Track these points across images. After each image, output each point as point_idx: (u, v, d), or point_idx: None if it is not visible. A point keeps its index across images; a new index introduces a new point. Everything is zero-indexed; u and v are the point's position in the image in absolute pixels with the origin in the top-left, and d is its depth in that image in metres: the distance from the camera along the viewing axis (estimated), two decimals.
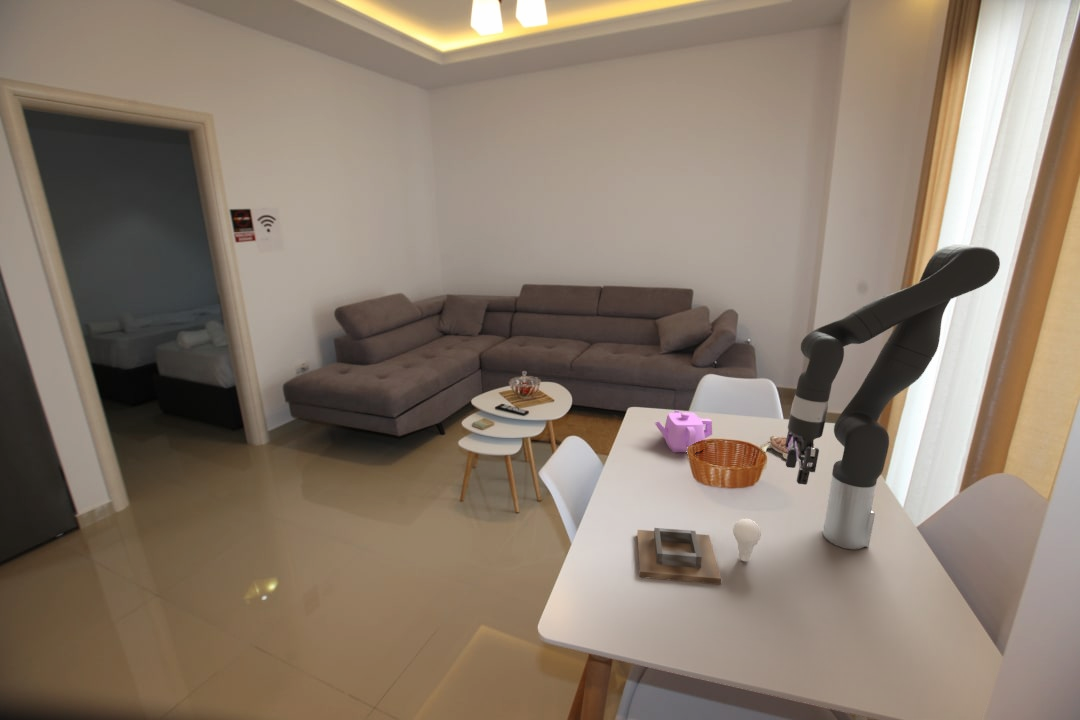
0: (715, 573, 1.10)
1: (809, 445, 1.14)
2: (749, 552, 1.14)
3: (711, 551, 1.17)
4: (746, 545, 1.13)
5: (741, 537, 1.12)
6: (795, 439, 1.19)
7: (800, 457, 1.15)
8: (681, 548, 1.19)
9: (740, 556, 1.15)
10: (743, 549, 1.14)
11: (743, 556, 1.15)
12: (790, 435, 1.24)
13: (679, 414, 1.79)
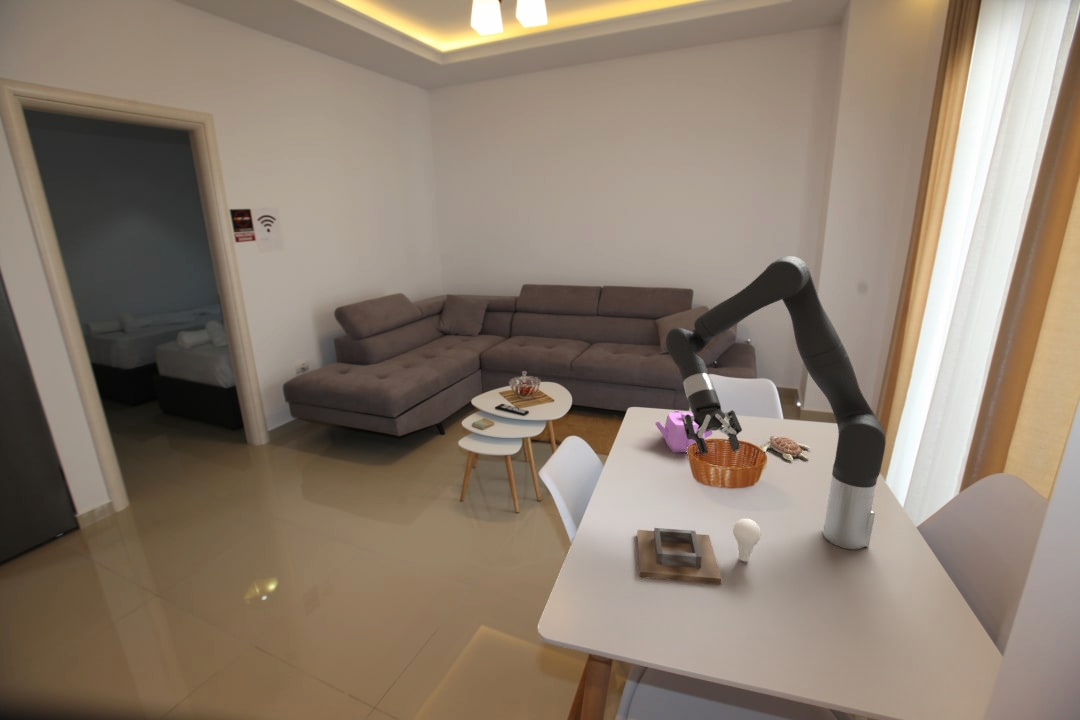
0: (715, 573, 1.10)
1: None
2: (749, 552, 1.14)
3: (711, 551, 1.17)
4: (746, 545, 1.13)
5: (741, 537, 1.12)
6: None
7: None
8: (681, 548, 1.19)
9: (740, 556, 1.15)
10: (743, 549, 1.14)
11: (743, 556, 1.15)
12: (729, 421, 1.27)
13: (679, 414, 1.79)
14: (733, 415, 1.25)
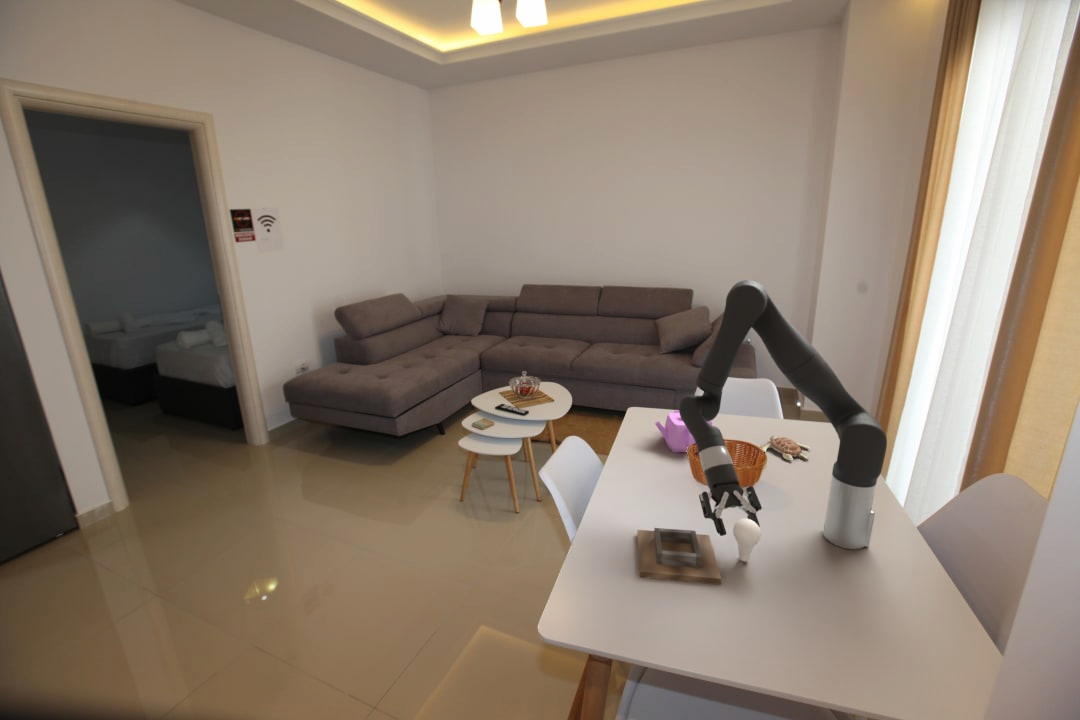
0: (715, 573, 1.10)
1: None
2: (749, 552, 1.14)
3: (711, 551, 1.17)
4: (746, 545, 1.12)
5: (741, 537, 1.12)
6: None
7: (714, 508, 1.19)
8: (681, 548, 1.19)
9: (740, 556, 1.15)
10: (743, 549, 1.14)
11: (743, 556, 1.15)
12: (747, 497, 1.21)
13: (679, 414, 1.79)
14: (752, 491, 1.20)
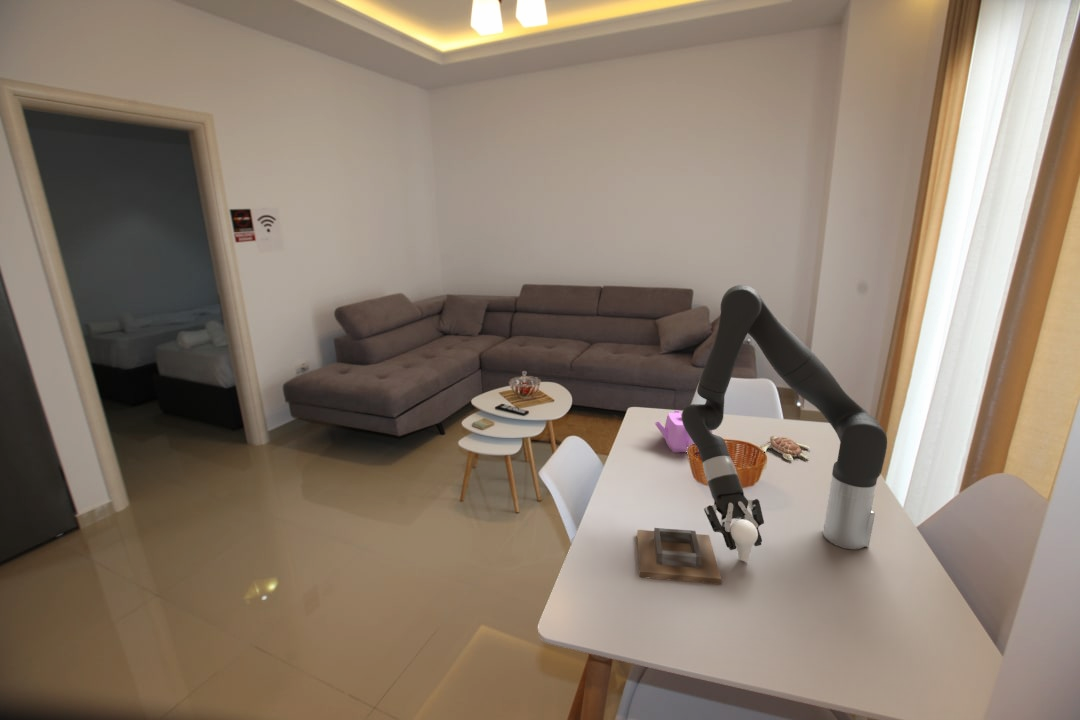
0: (715, 573, 1.10)
1: (714, 505, 1.18)
2: (748, 552, 1.14)
3: (711, 551, 1.17)
4: (743, 547, 1.12)
5: (737, 539, 1.12)
6: None
7: (721, 521, 1.17)
8: (681, 548, 1.19)
9: (739, 556, 1.15)
10: (742, 550, 1.14)
11: (742, 556, 1.14)
12: (752, 510, 1.19)
13: (679, 414, 1.79)
14: (757, 504, 1.18)
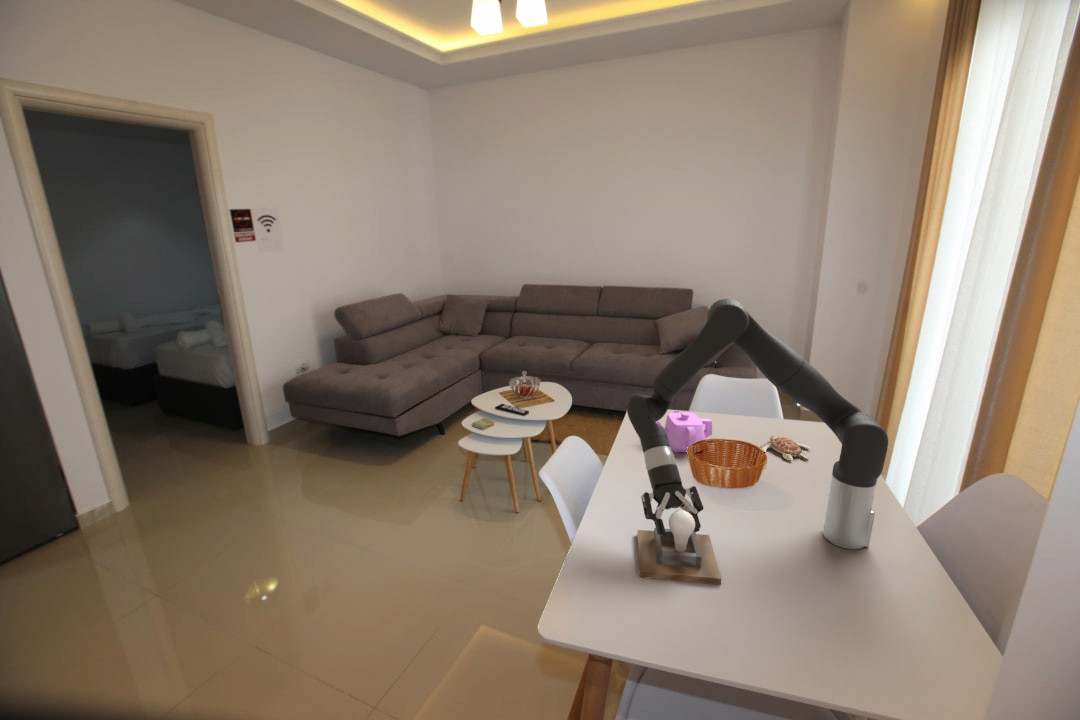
0: (715, 573, 1.10)
1: None
2: (684, 543, 1.15)
3: (711, 551, 1.17)
4: (680, 536, 1.14)
5: (674, 528, 1.13)
6: None
7: (656, 509, 1.18)
8: None
9: (676, 547, 1.17)
10: (678, 541, 1.15)
11: (678, 547, 1.16)
12: (691, 497, 1.20)
13: (679, 414, 1.79)
14: (694, 491, 1.19)
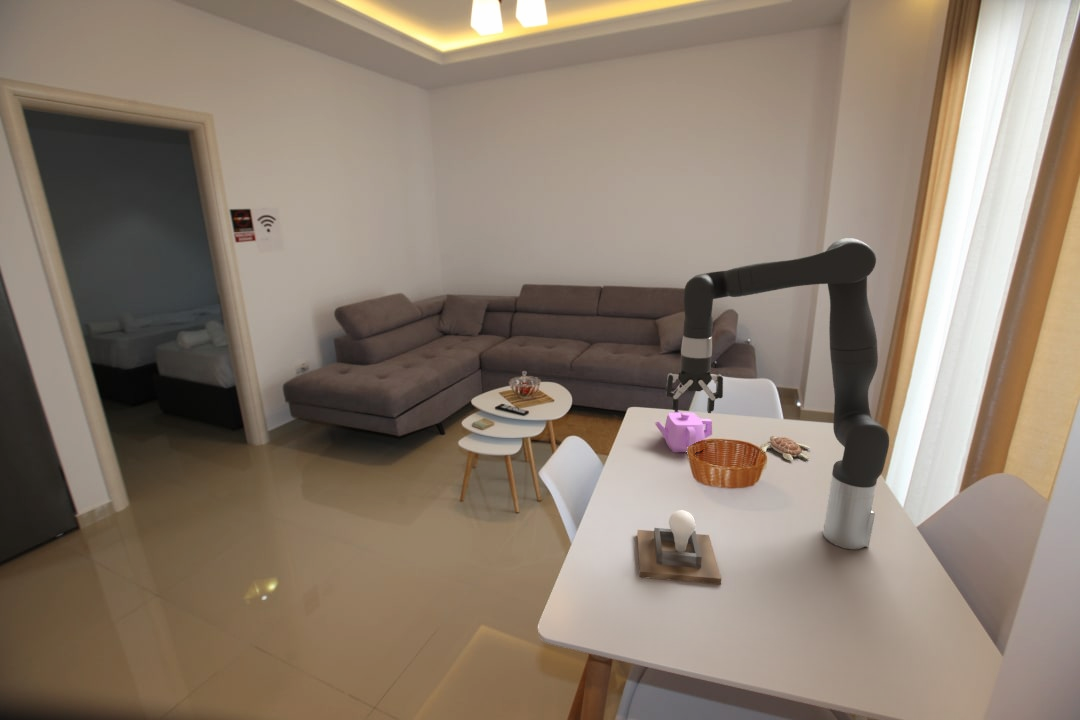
0: (715, 573, 1.10)
1: None
2: (684, 543, 1.15)
3: (711, 551, 1.17)
4: (680, 536, 1.14)
5: (675, 528, 1.13)
6: None
7: (678, 386, 1.29)
8: None
9: (676, 547, 1.17)
10: (678, 541, 1.15)
11: (679, 547, 1.16)
12: None
13: (679, 414, 1.79)
14: (720, 381, 1.24)
